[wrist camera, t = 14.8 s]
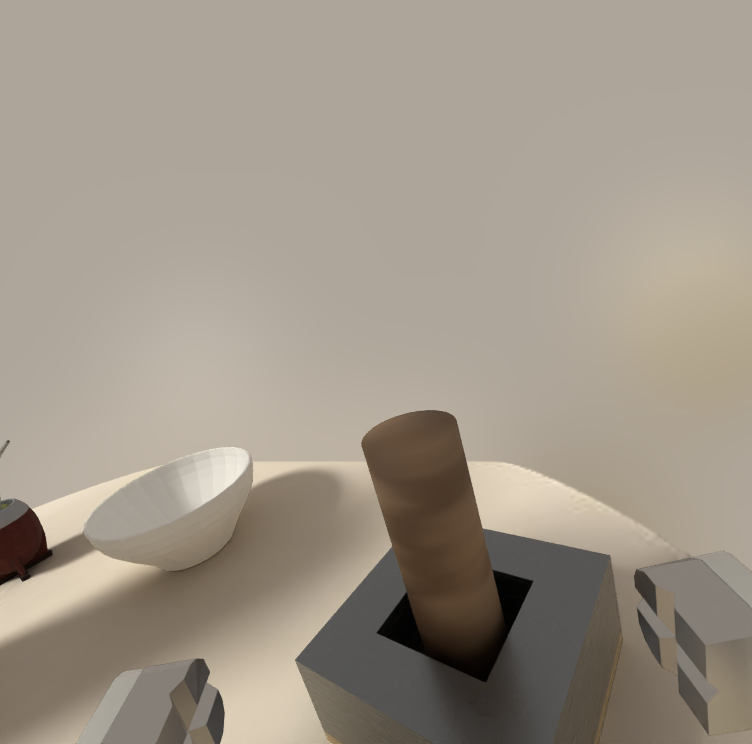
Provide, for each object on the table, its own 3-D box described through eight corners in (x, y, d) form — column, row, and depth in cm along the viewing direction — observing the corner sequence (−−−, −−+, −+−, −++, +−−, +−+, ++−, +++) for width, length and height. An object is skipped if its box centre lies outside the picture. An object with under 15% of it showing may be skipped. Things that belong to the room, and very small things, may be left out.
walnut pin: (421, 698, 24) (342, 451, 20) (458, 632, 27) (396, 409, 23) (498, 739, 21) (424, 461, 17) (530, 661, 24) (473, 411, 20)
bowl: (291, 488, 52) (271, 435, 50) (237, 593, 37) (207, 523, 35) (171, 511, 55) (149, 462, 53) (75, 618, 39) (39, 554, 38)
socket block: (327, 739, 24) (294, 659, 22) (437, 579, 32) (419, 515, 31) (559, 908, 16) (533, 802, 14) (622, 638, 24) (610, 555, 23)
